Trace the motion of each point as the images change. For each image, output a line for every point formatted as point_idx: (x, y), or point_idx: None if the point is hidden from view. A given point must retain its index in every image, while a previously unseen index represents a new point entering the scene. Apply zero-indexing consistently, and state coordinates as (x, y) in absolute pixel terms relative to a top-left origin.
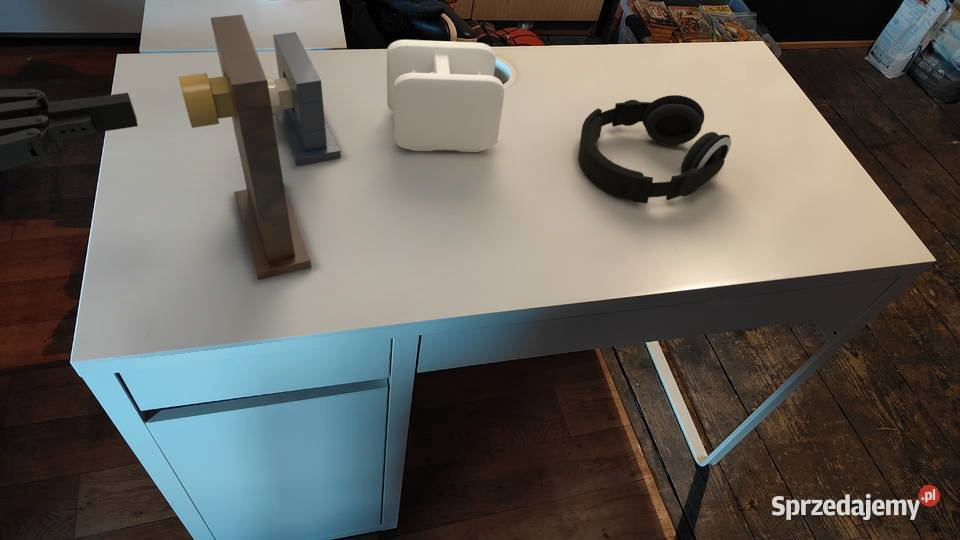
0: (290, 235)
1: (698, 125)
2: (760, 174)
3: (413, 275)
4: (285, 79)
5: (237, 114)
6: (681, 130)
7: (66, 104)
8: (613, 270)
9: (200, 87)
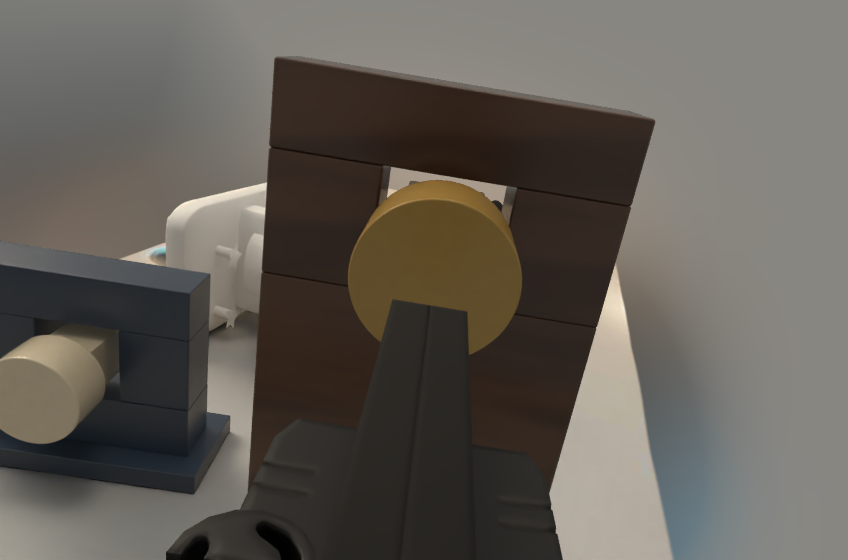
0: None
1: None
2: None
3: (569, 467)
4: (57, 335)
5: (611, 221)
6: None
7: (399, 471)
8: (596, 335)
9: (486, 203)
